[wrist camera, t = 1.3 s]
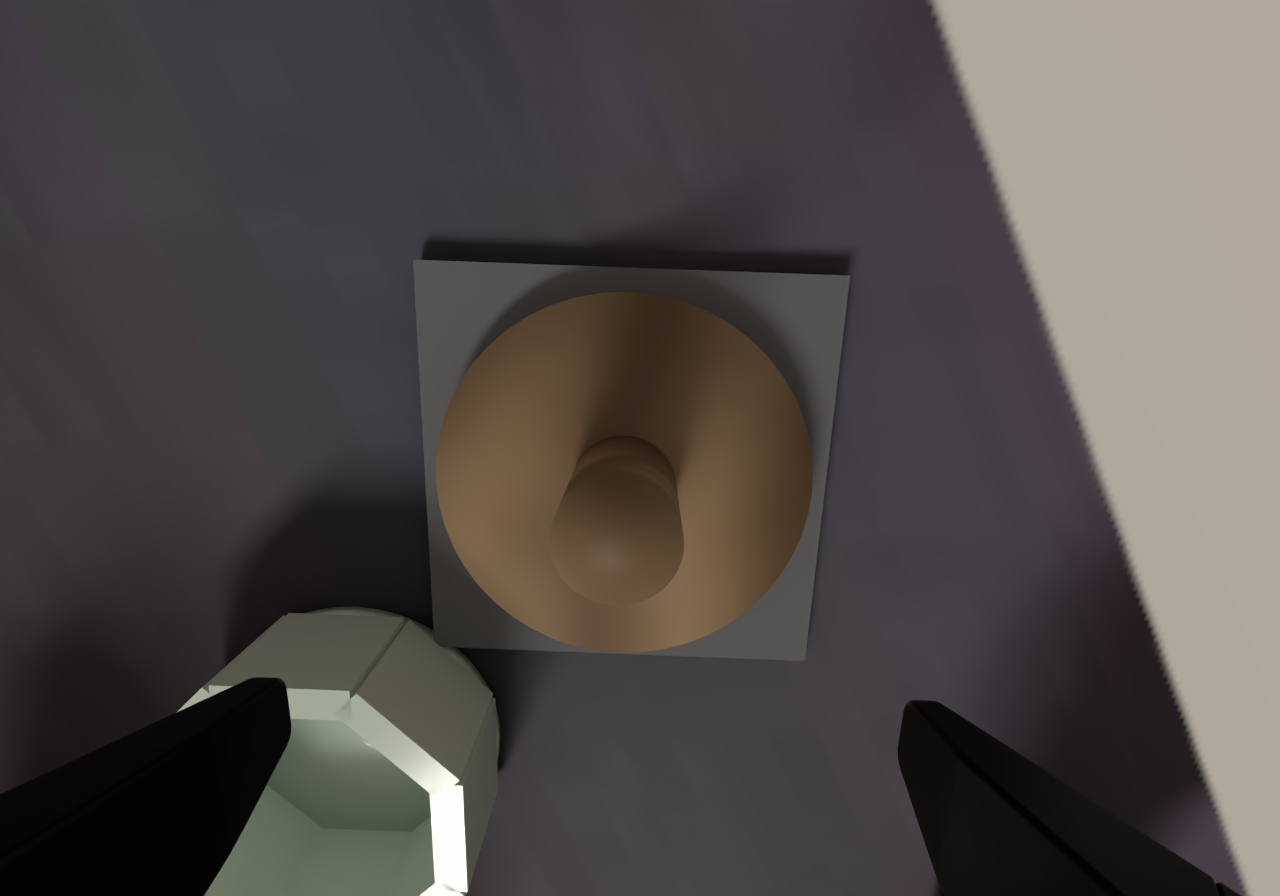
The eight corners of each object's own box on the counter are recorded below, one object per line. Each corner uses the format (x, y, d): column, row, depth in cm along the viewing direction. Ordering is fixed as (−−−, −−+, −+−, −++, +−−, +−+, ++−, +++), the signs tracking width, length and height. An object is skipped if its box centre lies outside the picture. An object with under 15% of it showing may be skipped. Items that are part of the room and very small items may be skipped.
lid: (823, 298, 18) (896, 301, 13) (787, 642, 21) (834, 760, 16) (437, 285, 18) (351, 281, 13) (453, 630, 21) (388, 743, 16)
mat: (843, 275, 19) (850, 275, 18) (800, 651, 22) (804, 660, 21) (420, 260, 19) (413, 259, 18) (440, 637, 22) (434, 646, 21)
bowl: (497, 612, 22) (458, 695, 17) (503, 842, 24) (470, 967, 20) (211, 600, 22) (99, 681, 17) (247, 832, 24) (157, 954, 20)
